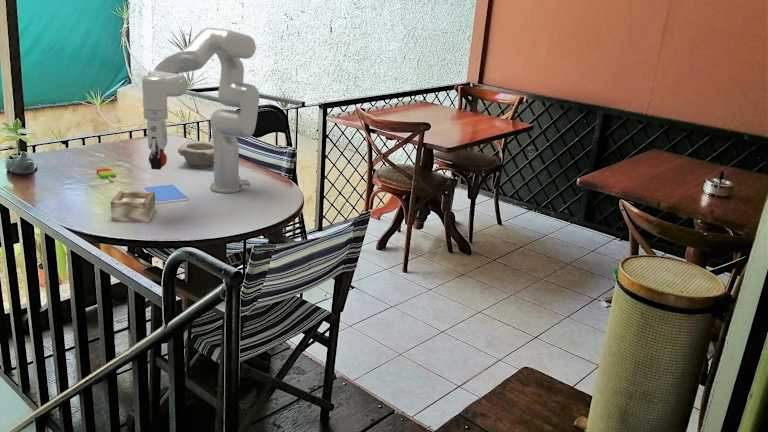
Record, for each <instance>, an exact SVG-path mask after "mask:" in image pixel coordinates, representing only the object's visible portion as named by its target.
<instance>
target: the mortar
mask: <svg viewBox="0 0 768 432" xmlns="http://www.w3.org/2000/svg"><path fill="white" fill-rule="evenodd" d="M177 152H178V154H179V155H180V157H181V156H182V157H183V158H184V160H185V161H186V163H187V165H188V166H190V168H191V167H192V168H194V169H195V168H196V169H207V168H211V167H214V144H213V142H212V141H204V140H188V141H187V142H184V143H182V144H181V145H180V147H178V149H177Z"/></svg>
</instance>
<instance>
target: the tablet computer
mask: <svg viewBox="0 0 768 432" xmlns="http://www.w3.org/2000/svg"><path fill="white" fill-rule="evenodd" d="M141 190H142V192H155V205H163V204H171V203H178V202H179V203H180V202H186V201H190V197H188V196H187V195H186V194H185V193H184V192H183V191H182V190H180V189H179V188H178V187H177V186H175V185H174V184H166V185H156V186H146V187H142V188H141Z"/></svg>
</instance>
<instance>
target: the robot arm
mask: <svg viewBox="0 0 768 432" xmlns="http://www.w3.org/2000/svg"><path fill="white" fill-rule="evenodd" d="M186 45H187V46H185V48H183V49H182V50H179V51H178V52H175V53H173V54H171V55H168V56H166V57H164V58H162V59H160V60H159V61H157V62H156V63H155V65H154V66H153V67H151V68H150V70H149V72H148V73H147V75H145V76H143V77H142V79H141V85H142V104H143V108H142V109H143V119H145V120H146V121H147V125H146V127H147V130H146V131H147V132H146V133H147V146H148V149H150V153H151V164H150V168H151V170H157V169H160V170H161V169H162V168H161V157H160V150H162V151H163V152H164V153H165V148H166V146H167V145H168V131H167V130H168V129H167V119H168V117H169V116H168V115H169V114H168V97H174V98H175V97H181V96H183V95H185V94H186V93H187V91H188V90H189V82H188V79H187V78H186V77H185V76H184V75H182V74H185V73H189V72H190V73H191V72H194V71H198V70H201V69H202V68H204V66H205V65H206V64H207V63H208V61H210V60H211V58H212V57H213V56H214V55H215V54H216V56H217V57H218V59H219V63H220V67H221V68H220V78H219V86H218V93H217V94H218V96H217V97H218V98H217V99H218V102H219V103H220V104H221V105H223V106H227V107H232V108H237V109H240V111H236V110H234V109H233V110H231V109H224V108H222V109H221V108H220V109H217V110H215V111H213V113H212V114H211V116H210V121H209V123H210V124H209V125H210V128H211V132H212V139H213V142H212V143H213V144H214V165H213V182H212V183H211V184H210V185H209V189H210V190H211V191H213V192H215V193H219V194H220V193H221V194H233V193H237V192H240V191H242V190H243V187H244V186H245V187H246V186H249V187H250V186H251V181H250V180H248V179H242V178H241V176H240V175H239V166H240V165H239V163H240V161H239V155H240V154H239V150H240V149H239V142H238V140H237V139H238V138H244V139H247V138H250V137H252V136H253V134H254V133H255V130H256V125H257V120H258V111H259V106H260V92H259V90H258V88H257V87H256V86H255V85H253V84H250V83H244V76H245V75H244V74H245V67H244V64H243V62H242V60H241V59H243V60H244V59H245V60H247V59H250V58H252V57H253V56H254V55H255V52H256V50H257V49H256V48H257V46H256V45H257V44H256V42H255V40H254V38H253V37H252V36H251V35H248V34H245V33H240V32H238V31H234V30H232V29H230V30H229V29H225V28H217V27H216V28H215V27H205V28H203V29H201V30H200V31H199V32H198V34H197V35H196V36H195V37H194V38H193V39H192V40H191V41H190V42H189V43H188V44H186ZM156 147H158V148H156ZM156 150H157V151H158V152H157V151H156Z"/></svg>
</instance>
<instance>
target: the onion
mask: <svg viewBox="0 0 768 432" xmlns="http://www.w3.org/2000/svg"><path fill="white" fill-rule="evenodd" d="M156 148H158V147H156ZM156 151H157V150H156ZM157 152H158V151H157ZM160 157H161V169H162V168H163V167H165V166H166V164H167V160H168V158H167V157H168V156H167V154H166V152H165V151H164V152H163V151H162V150H160ZM148 162H149V164H150V165H151V152H150V154H149V155H148ZM161 169H156V170H158V171H159V170H161Z"/></svg>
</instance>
